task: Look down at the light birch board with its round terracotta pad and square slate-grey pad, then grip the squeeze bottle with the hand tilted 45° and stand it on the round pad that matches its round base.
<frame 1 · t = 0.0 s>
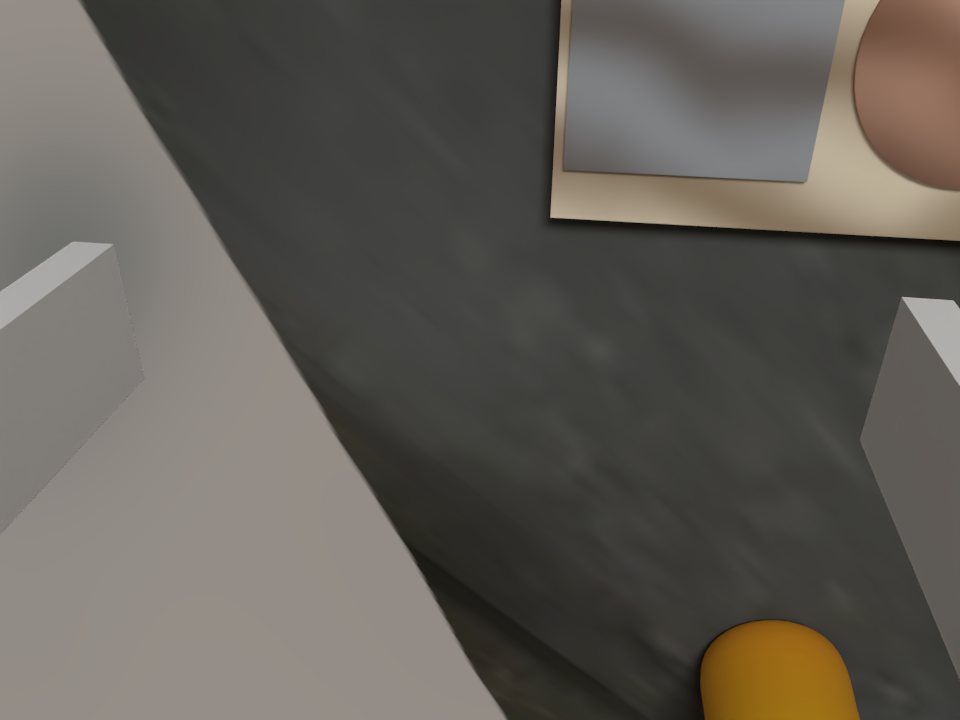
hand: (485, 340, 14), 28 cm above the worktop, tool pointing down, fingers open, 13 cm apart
beer bottle: (769, 662, 56), on the worktop
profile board: (836, 47, 37), on the worktop
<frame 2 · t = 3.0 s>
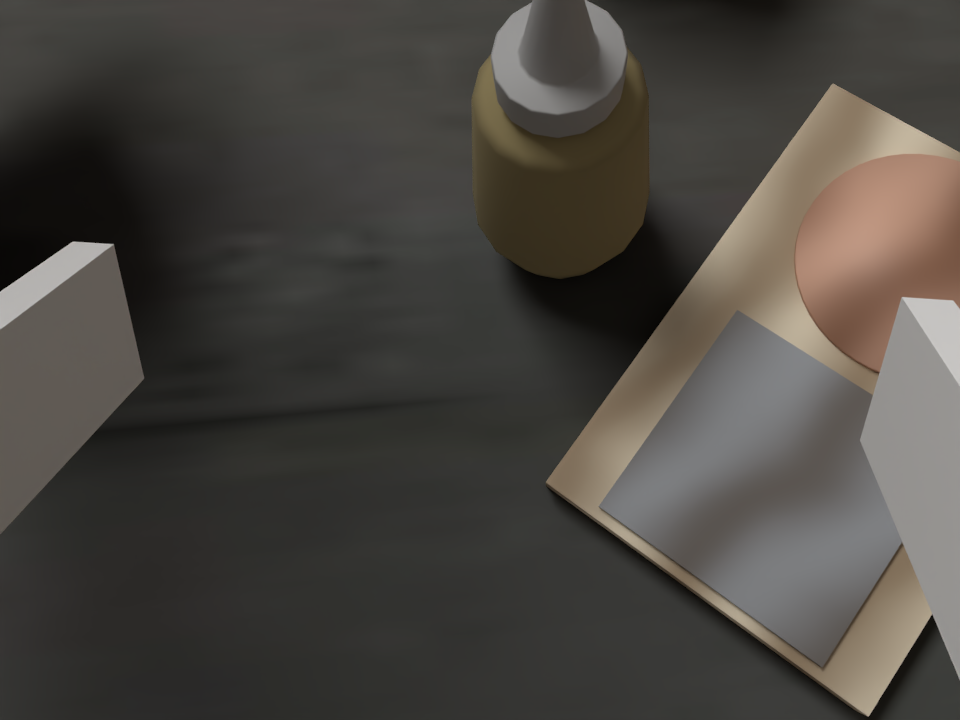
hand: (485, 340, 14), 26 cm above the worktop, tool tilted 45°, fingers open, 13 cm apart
squeeze bottle: (560, 226, 43), on the worktop
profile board: (838, 378, 39), on the worktop
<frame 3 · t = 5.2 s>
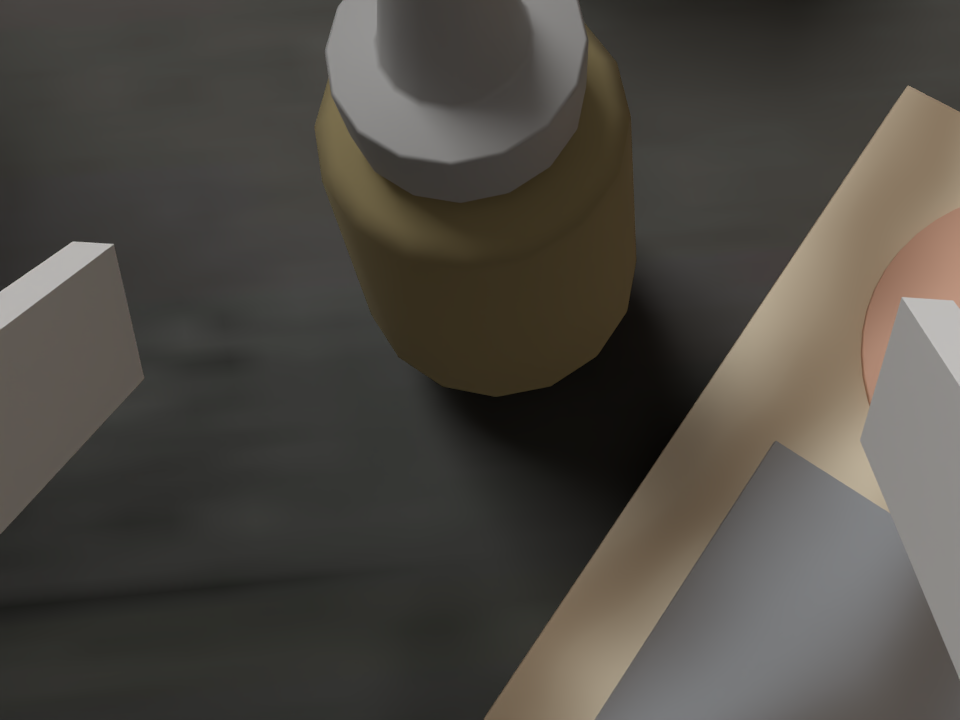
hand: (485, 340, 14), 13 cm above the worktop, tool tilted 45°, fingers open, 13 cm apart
squeeze bottle: (506, 303, 29), on the worktop
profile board: (932, 539, 25), on the worktop
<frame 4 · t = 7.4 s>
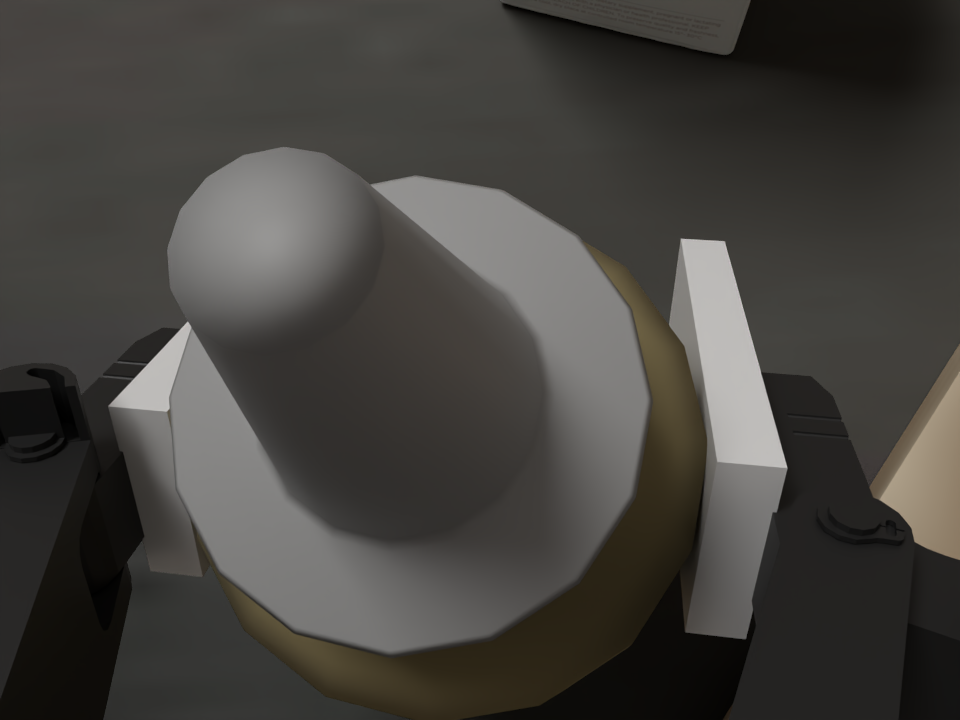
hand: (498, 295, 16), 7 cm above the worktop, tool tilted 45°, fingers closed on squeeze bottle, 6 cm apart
squeeze bottle: (504, 516, 22), on the worktop, touching gripper
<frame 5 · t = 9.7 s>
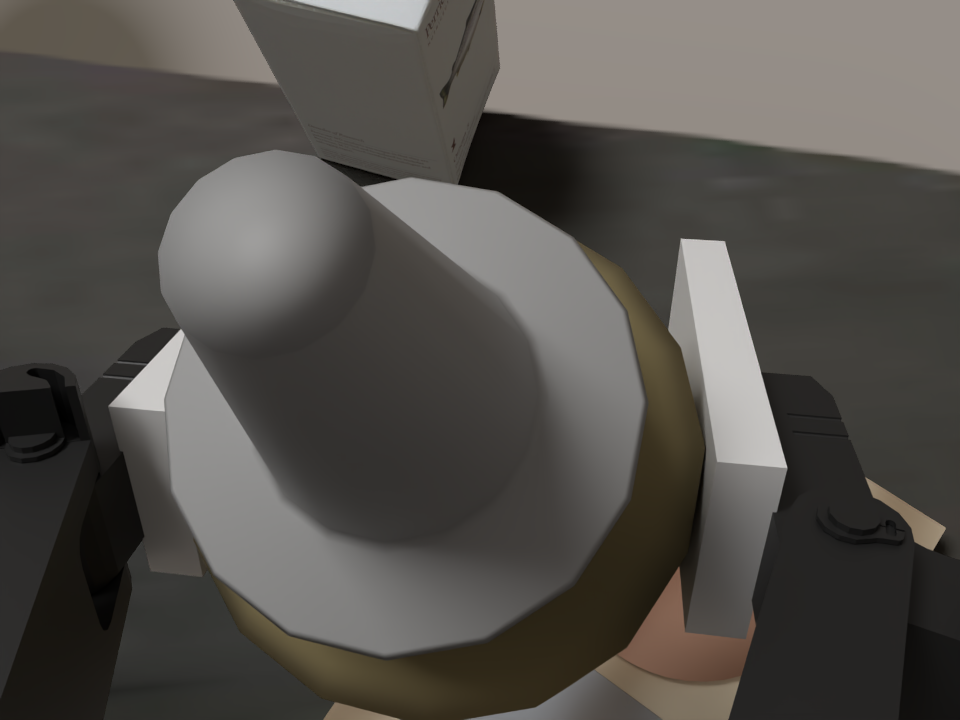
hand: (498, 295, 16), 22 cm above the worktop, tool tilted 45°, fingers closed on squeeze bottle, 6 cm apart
squeeze bottle: (502, 516, 22), point 15 cm above the worktop, touching gripper
supplement box: (411, 115, 42), on the worktop
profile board: (606, 659, 35), on the worktop
when the fingers open (10 cm above the worktop, at t = 12.4 s): squeeze bottle drops 2 cm, resting on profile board.
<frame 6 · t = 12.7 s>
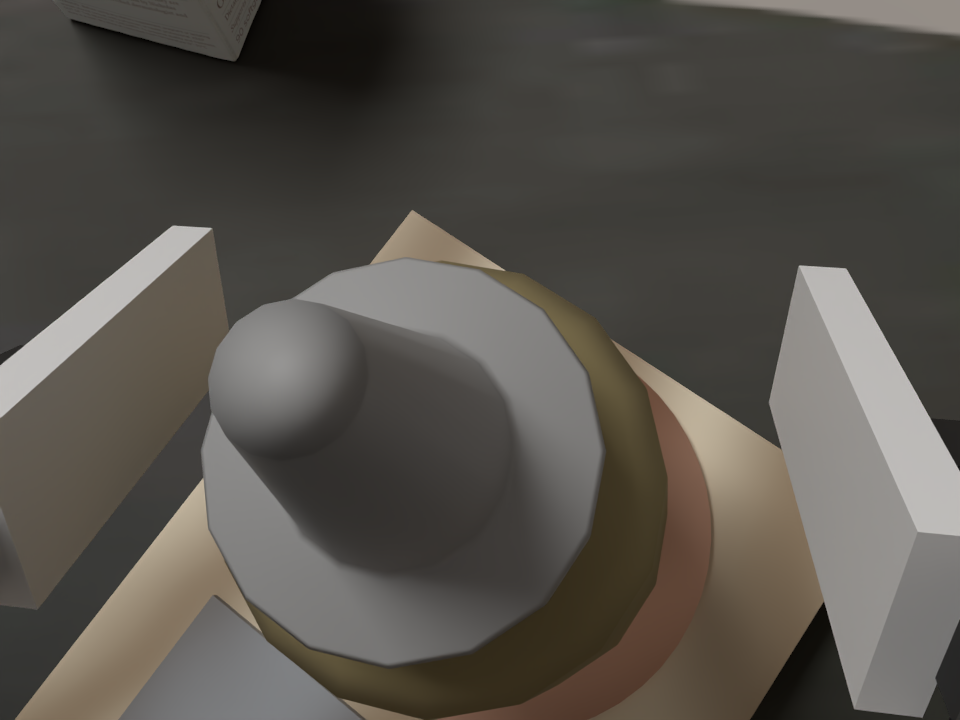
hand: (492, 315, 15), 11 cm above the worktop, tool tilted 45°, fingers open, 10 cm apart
squeeze bottle: (505, 522, 23), point 2 cm above the worktop, touching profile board
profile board: (389, 697, 24), on the worktop
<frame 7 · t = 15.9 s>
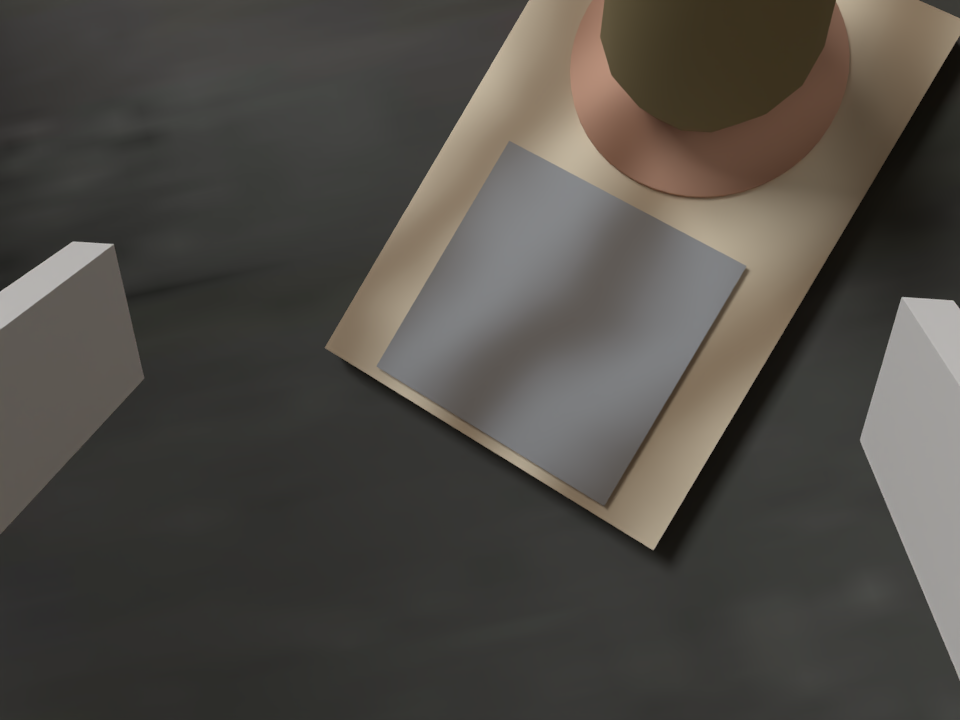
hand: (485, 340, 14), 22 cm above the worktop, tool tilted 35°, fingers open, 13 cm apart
squeeze bottle: (703, 66, 34), point 2 cm above the worktop, touching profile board
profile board: (630, 202, 36), on the worktop
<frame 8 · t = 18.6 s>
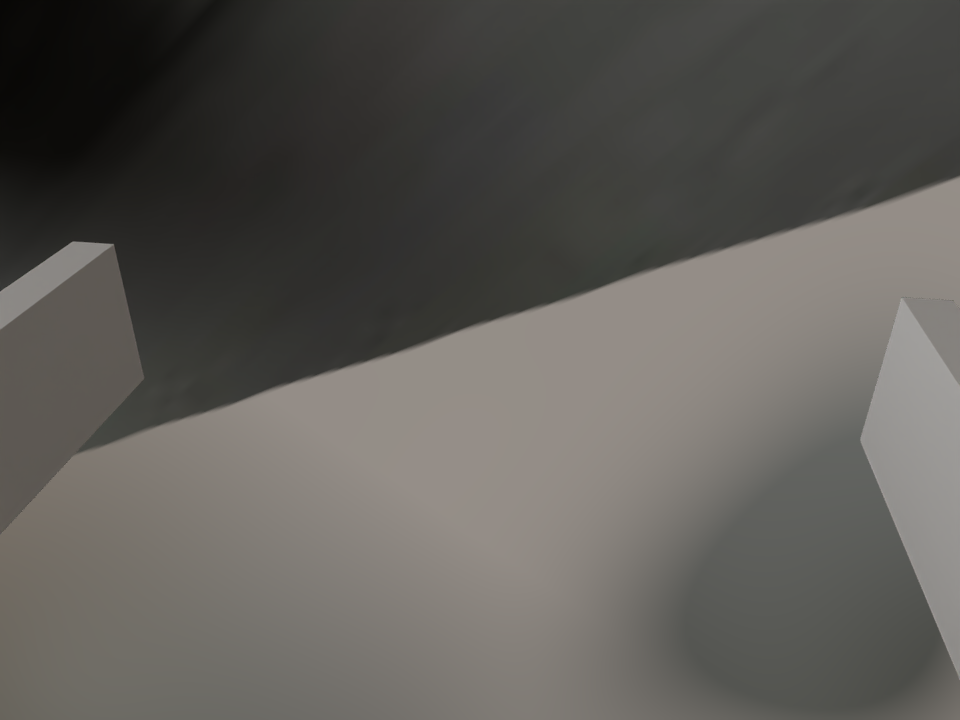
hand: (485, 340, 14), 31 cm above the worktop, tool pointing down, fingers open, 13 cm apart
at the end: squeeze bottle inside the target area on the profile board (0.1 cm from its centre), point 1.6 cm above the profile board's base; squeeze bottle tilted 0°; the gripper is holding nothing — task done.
